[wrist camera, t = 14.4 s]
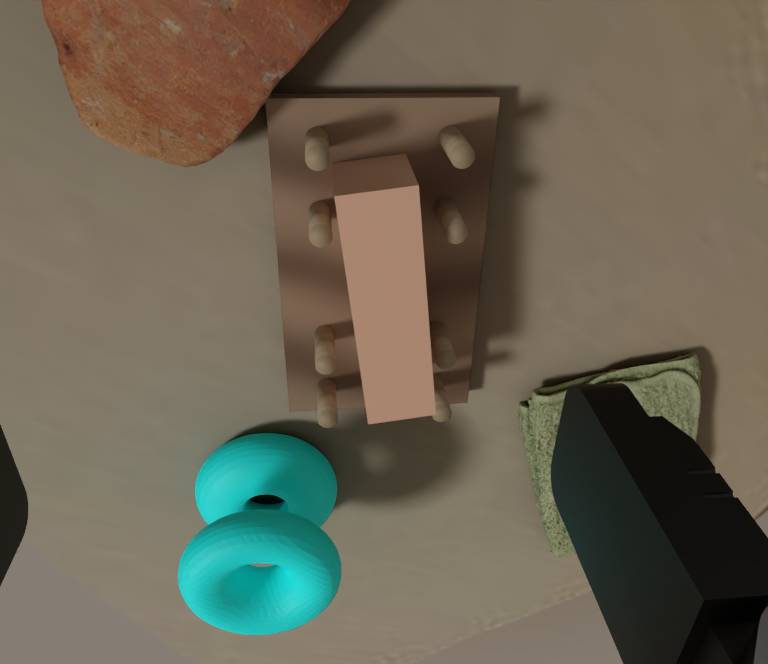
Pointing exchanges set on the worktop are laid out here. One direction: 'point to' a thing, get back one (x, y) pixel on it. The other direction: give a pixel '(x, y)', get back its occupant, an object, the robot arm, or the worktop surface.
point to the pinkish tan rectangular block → (386, 284)
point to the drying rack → (322, 237)
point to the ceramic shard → (180, 66)
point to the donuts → (262, 537)
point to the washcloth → (647, 382)
